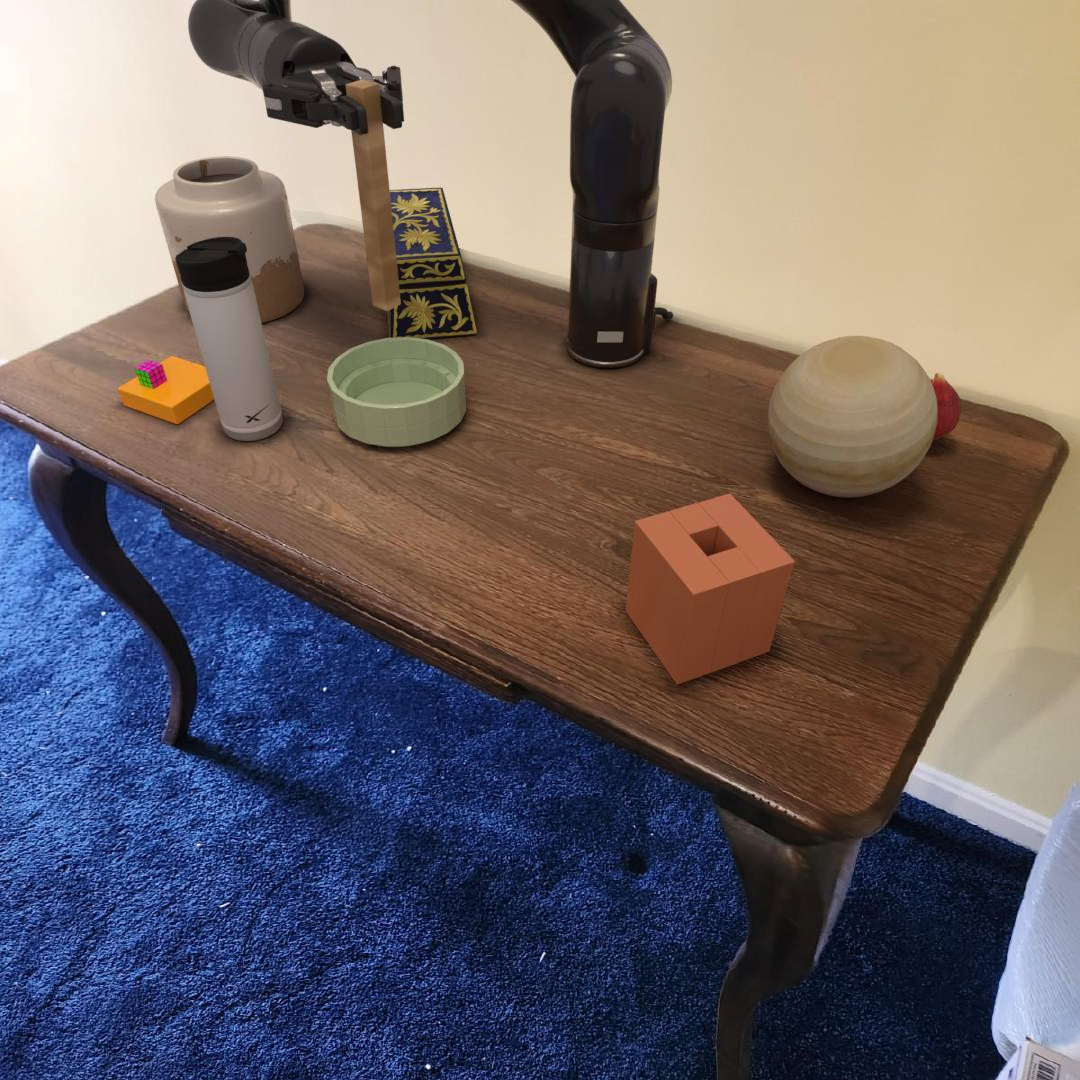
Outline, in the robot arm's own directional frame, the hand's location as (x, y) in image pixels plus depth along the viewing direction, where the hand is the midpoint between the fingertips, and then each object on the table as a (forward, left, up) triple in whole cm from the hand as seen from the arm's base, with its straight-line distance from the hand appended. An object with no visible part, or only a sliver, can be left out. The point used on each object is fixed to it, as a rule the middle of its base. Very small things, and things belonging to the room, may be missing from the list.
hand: (380, 118), depth 71 cm
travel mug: (+16, -7, -31) cm, 35 cm away
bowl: (+1, -3, -31) cm, 31 cm away
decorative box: (-11, -32, -31) cm, 46 cm away
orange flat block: (+23, -16, -31) cm, 41 cm away
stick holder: (-12, +37, -31) cm, 50 cm away
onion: (-48, +23, -31) cm, 62 cm away
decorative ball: (-35, +25, -31) cm, 53 cm away
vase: (+12, -37, -31) cm, 50 cm away
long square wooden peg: (+1, -3, -18) cm, 18 cm away
